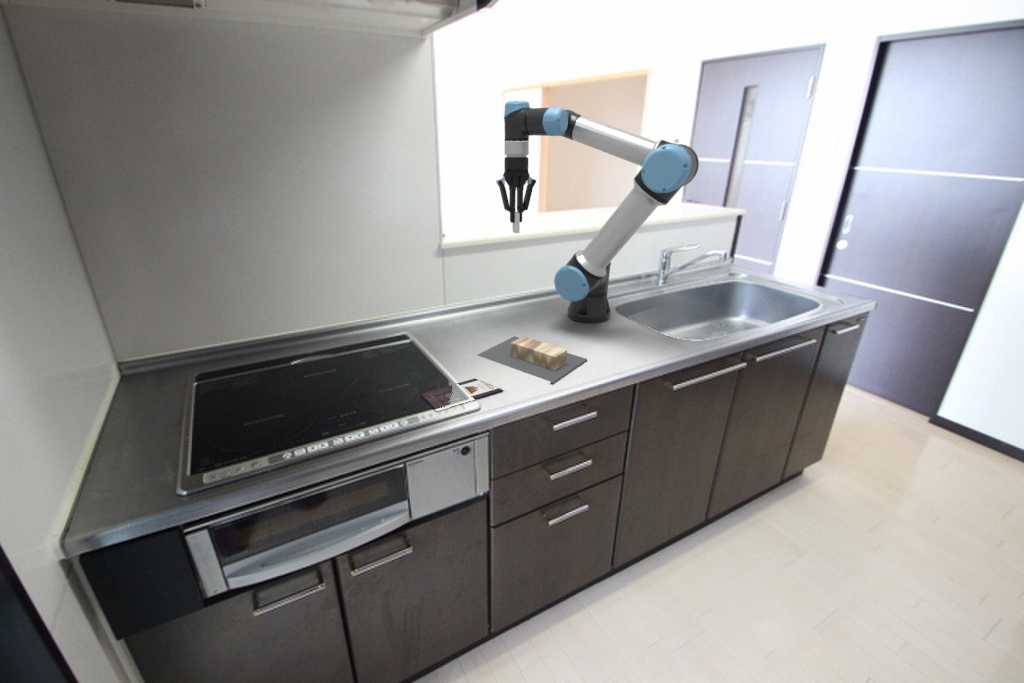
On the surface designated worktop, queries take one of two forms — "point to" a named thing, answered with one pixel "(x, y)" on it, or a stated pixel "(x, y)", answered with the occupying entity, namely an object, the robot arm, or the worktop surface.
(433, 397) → the chocolate bar
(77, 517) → the worktop surface
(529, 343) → the wooden block
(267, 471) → the worktop surface
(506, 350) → the rubber mat
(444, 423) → the worktop surface
